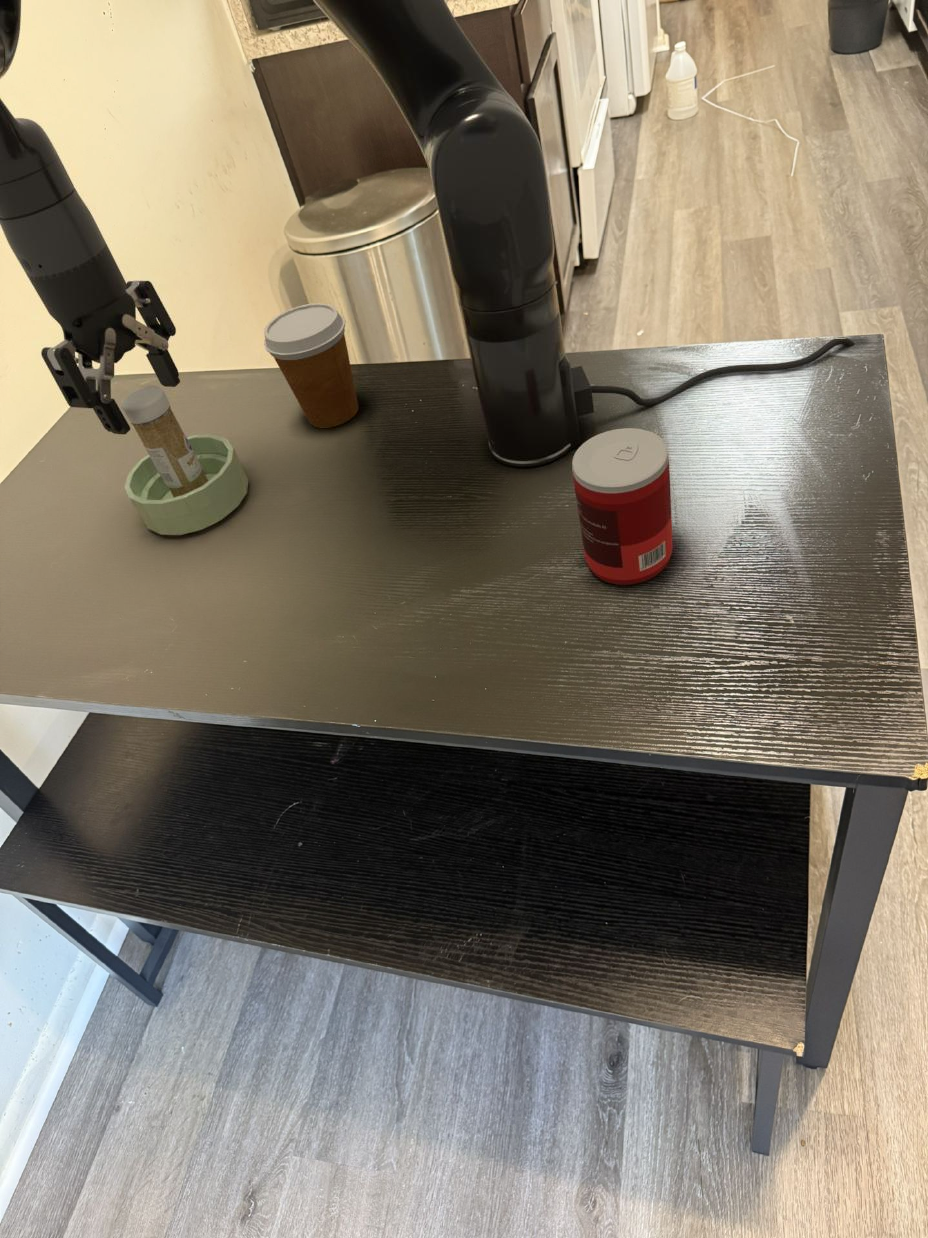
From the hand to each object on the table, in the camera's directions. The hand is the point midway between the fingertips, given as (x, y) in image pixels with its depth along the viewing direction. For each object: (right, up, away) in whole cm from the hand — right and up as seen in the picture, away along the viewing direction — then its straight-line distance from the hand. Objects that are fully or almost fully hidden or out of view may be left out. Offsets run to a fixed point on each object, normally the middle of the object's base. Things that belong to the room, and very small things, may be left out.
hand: (147, 407), depth 89 cm
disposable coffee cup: (+17, +3, +16) cm, 24 cm away
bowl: (+3, -9, +9) cm, 13 cm away
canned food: (+47, -16, -12) cm, 51 cm away
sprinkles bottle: (+3, -8, +8) cm, 12 cm away
